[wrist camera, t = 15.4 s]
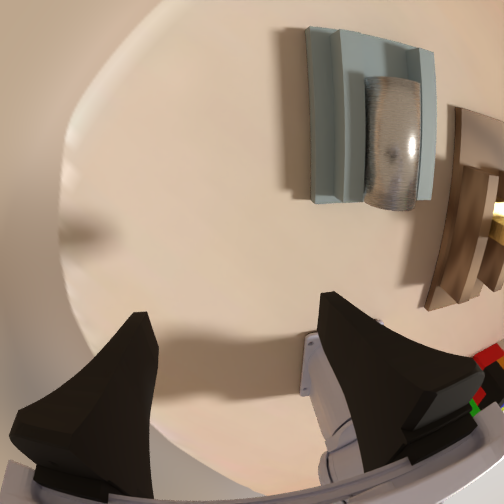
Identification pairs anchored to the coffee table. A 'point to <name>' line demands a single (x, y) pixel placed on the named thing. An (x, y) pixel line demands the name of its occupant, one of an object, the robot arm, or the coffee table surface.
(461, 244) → the socket block
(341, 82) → the rack
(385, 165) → the shiny metal cylinder
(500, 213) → the tan blocky piece
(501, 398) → the puzzle toy
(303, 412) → the coffee table surface
